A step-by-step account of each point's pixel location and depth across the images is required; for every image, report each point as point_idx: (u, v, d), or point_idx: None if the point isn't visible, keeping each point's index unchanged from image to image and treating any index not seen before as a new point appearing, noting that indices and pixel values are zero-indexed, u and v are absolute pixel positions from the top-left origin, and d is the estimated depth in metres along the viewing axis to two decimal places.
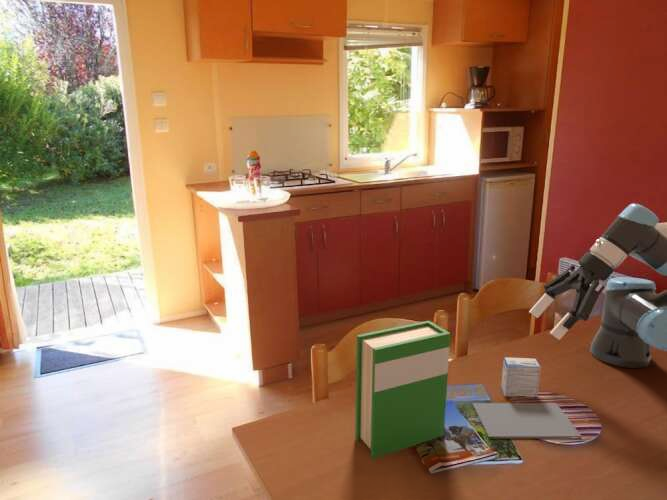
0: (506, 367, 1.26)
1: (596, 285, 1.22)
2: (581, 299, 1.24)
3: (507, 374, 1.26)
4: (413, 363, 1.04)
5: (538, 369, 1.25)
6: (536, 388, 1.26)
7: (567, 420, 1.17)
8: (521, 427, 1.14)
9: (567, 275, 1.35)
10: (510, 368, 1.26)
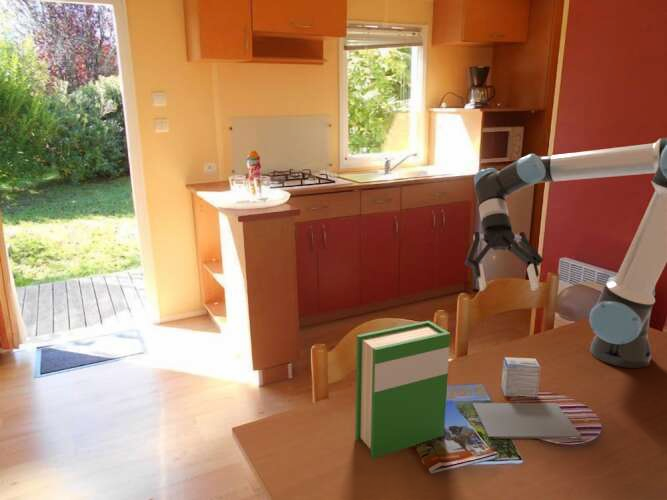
0: (506, 367, 1.26)
1: (473, 238, 1.42)
2: None
3: (507, 374, 1.26)
4: (413, 363, 1.04)
5: (538, 369, 1.25)
6: (536, 388, 1.26)
7: (567, 420, 1.17)
8: (521, 427, 1.14)
9: (521, 244, 1.41)
10: (510, 368, 1.26)
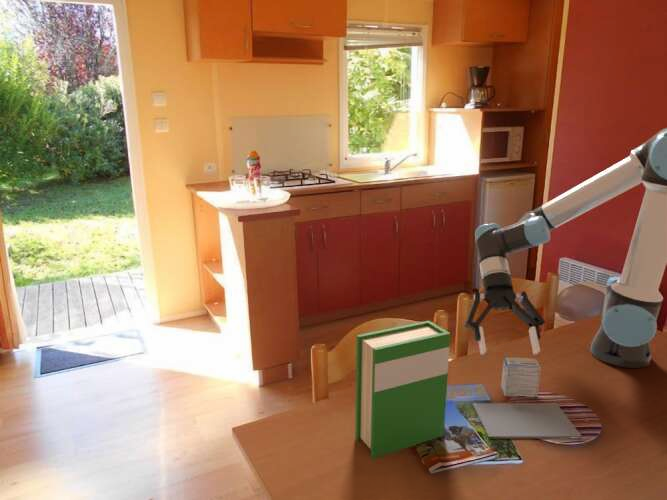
0: (506, 367, 1.26)
1: (473, 297, 1.39)
2: None
3: (507, 374, 1.26)
4: (413, 363, 1.04)
5: (538, 369, 1.25)
6: (536, 388, 1.26)
7: (567, 420, 1.17)
8: (521, 427, 1.14)
9: (522, 303, 1.38)
10: (510, 368, 1.26)
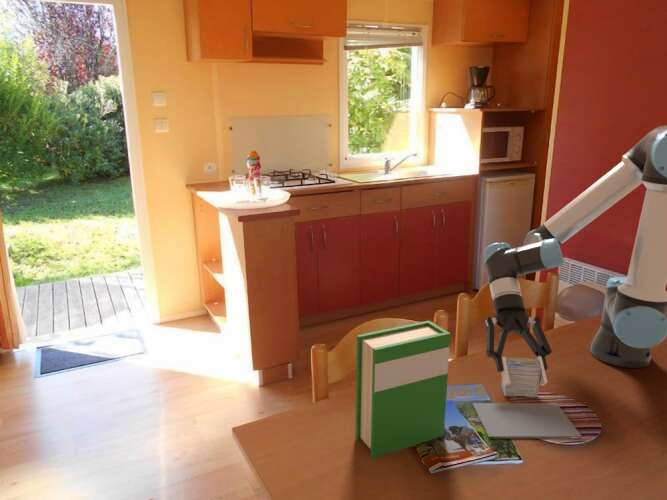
0: None
1: (485, 324, 1.33)
2: (499, 340, 1.31)
3: None
4: (413, 363, 1.04)
5: (538, 369, 1.25)
6: (536, 388, 1.26)
7: (567, 420, 1.17)
8: (521, 427, 1.14)
9: (533, 329, 1.33)
10: (510, 368, 1.26)
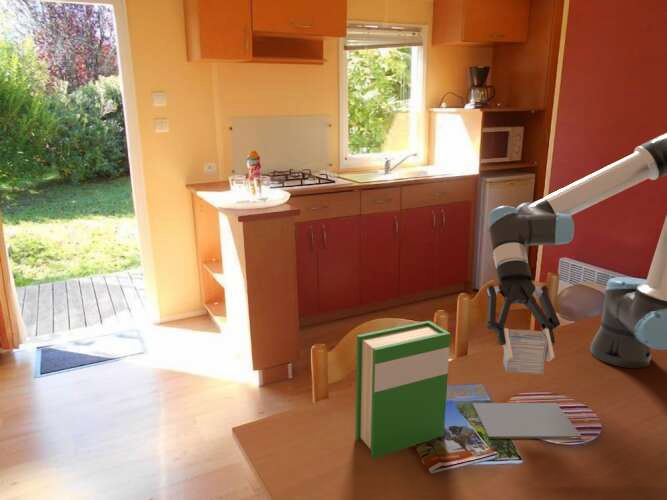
0: None
1: (487, 293, 1.21)
2: (501, 311, 1.18)
3: None
4: (413, 363, 1.04)
5: (544, 342, 1.12)
6: (542, 363, 1.14)
7: (567, 420, 1.17)
8: (521, 427, 1.14)
9: (540, 299, 1.20)
10: (513, 340, 1.13)
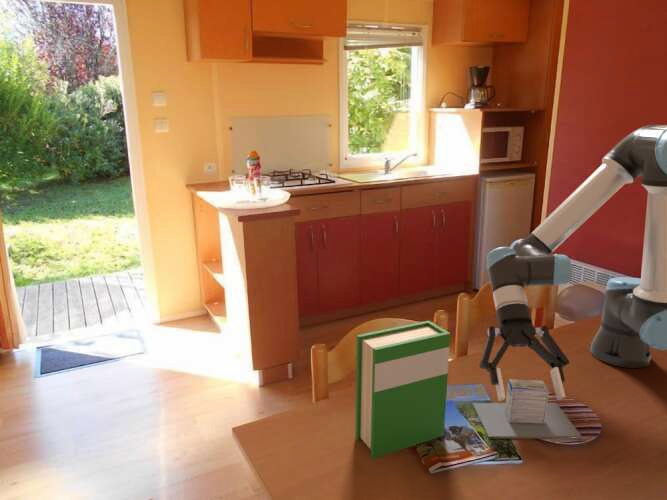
0: (511, 391, 1.15)
1: (487, 333, 1.22)
2: None
3: (512, 398, 1.14)
4: (413, 363, 1.04)
5: (546, 393, 1.13)
6: (544, 414, 1.15)
7: (567, 420, 1.17)
8: (521, 427, 1.14)
9: (543, 339, 1.21)
10: (516, 392, 1.14)
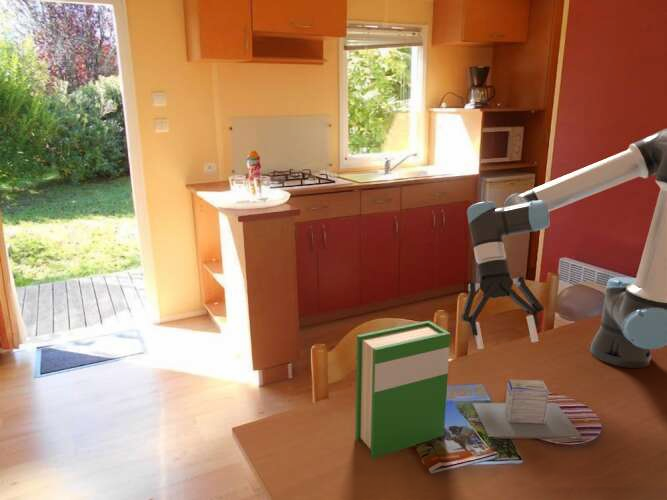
0: (511, 391, 1.15)
1: (468, 287, 1.32)
2: (477, 305, 1.31)
3: (512, 398, 1.14)
4: (413, 363, 1.04)
5: (546, 393, 1.13)
6: (544, 414, 1.15)
7: (567, 420, 1.17)
8: (521, 427, 1.14)
9: (520, 288, 1.32)
10: (516, 392, 1.14)
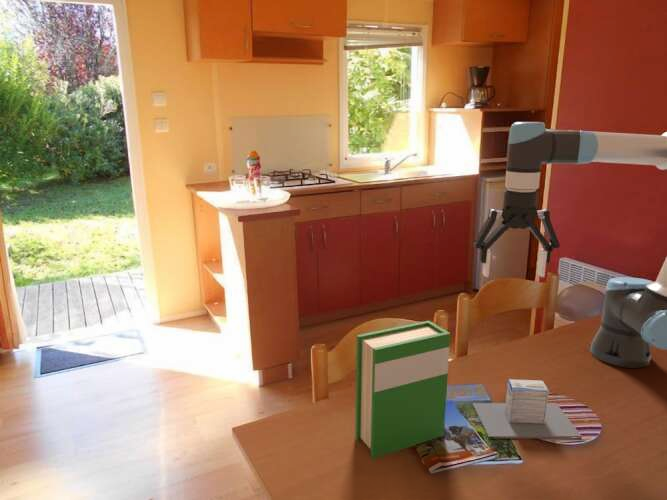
0: (511, 391, 1.15)
1: (489, 213, 1.24)
2: (494, 232, 1.25)
3: (512, 398, 1.14)
4: (413, 363, 1.04)
5: (546, 393, 1.13)
6: (544, 414, 1.15)
7: (567, 420, 1.17)
8: (521, 427, 1.14)
9: (542, 221, 1.25)
10: (516, 392, 1.14)
